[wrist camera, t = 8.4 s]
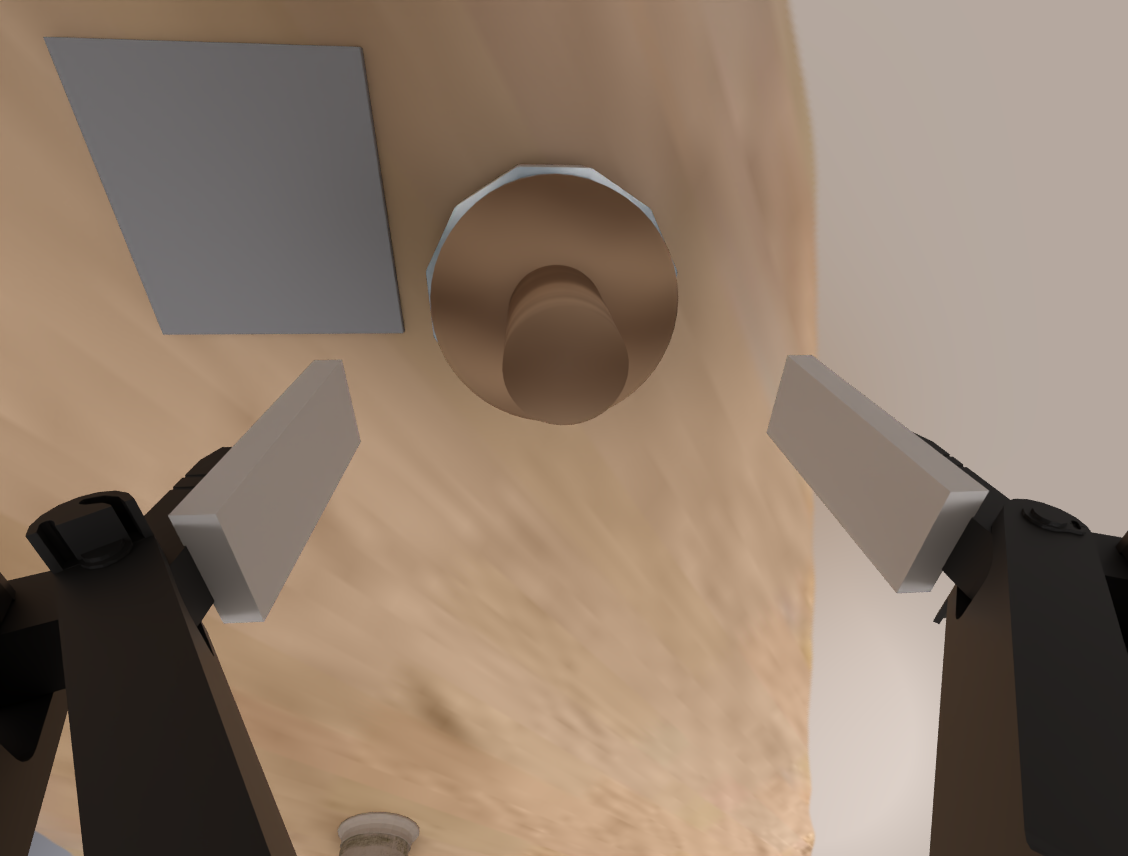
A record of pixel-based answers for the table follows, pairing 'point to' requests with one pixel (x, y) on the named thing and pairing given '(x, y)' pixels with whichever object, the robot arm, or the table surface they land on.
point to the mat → (240, 181)
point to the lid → (554, 298)
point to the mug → (377, 835)
